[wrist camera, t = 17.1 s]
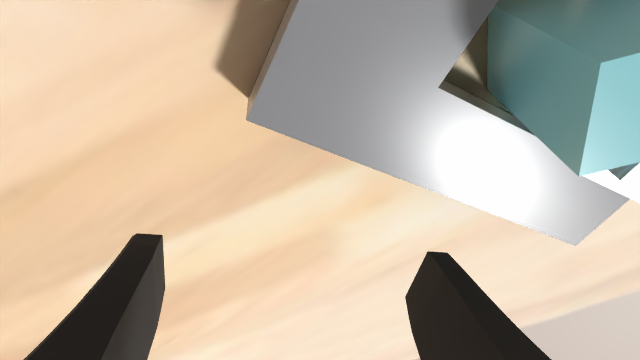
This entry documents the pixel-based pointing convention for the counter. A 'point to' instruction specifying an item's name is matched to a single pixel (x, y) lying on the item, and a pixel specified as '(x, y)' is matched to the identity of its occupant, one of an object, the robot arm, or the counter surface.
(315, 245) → the counter surface
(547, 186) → the socket plate
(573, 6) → the plug
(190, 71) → the counter surface
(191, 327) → the counter surface
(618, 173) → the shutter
